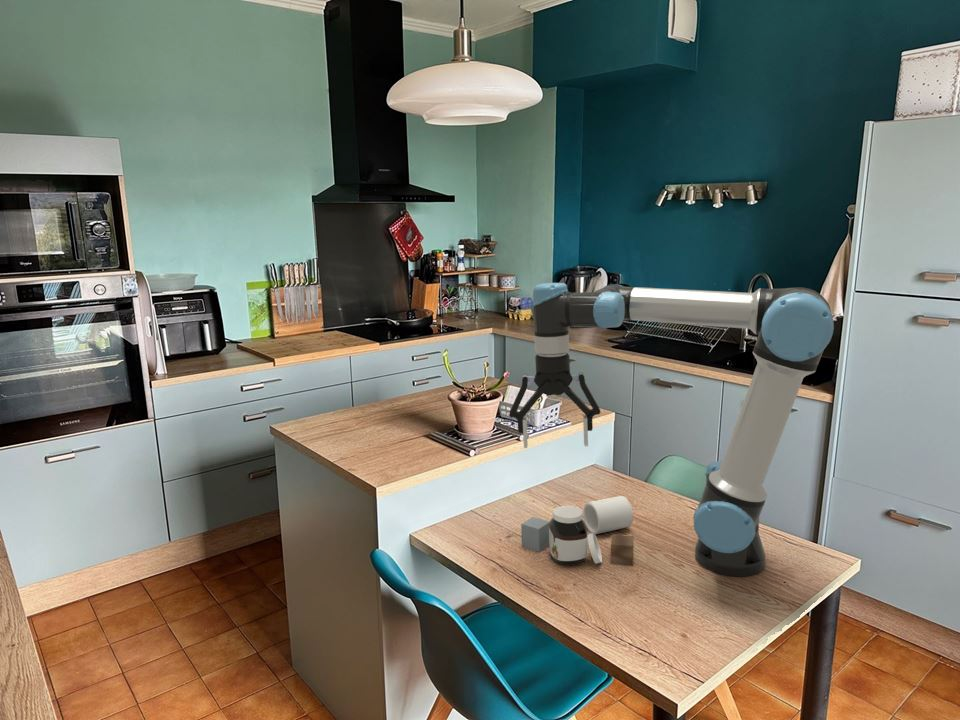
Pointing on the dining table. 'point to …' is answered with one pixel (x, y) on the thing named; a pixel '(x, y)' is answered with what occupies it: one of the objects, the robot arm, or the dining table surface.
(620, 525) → the mug
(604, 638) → the dining table surface
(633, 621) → the dining table surface
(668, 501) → the dining table surface
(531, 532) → the slate block
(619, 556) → the walnut block
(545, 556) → the dining table surface
